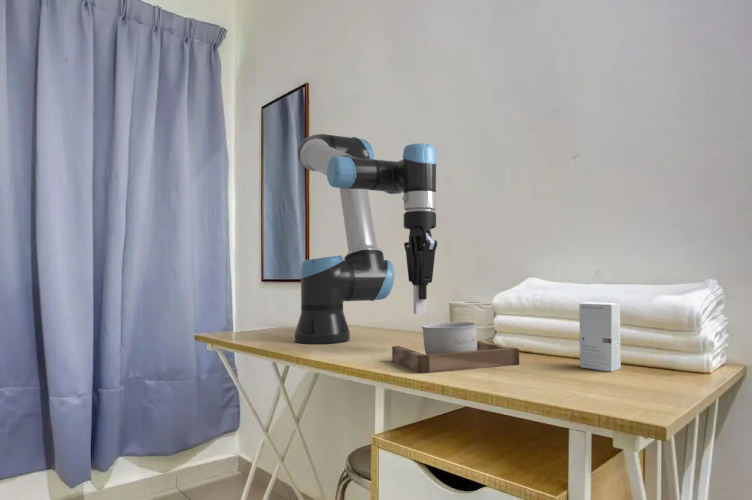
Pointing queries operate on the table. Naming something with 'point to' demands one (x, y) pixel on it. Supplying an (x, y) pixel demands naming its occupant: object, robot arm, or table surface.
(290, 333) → the table surface
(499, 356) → the brown wooden tray
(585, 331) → the skincare box
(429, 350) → the teacup
